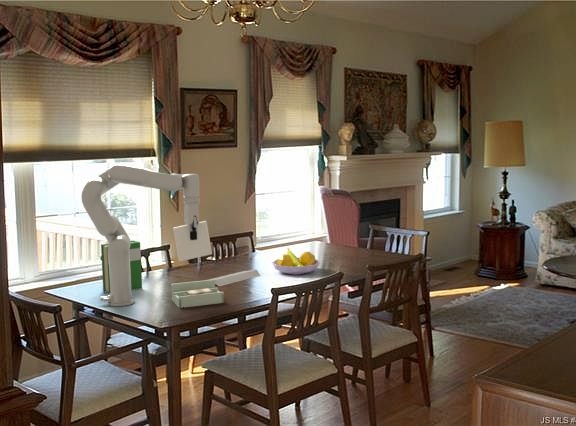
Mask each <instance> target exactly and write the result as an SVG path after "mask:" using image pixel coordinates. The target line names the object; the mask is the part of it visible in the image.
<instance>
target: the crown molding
mask: <svg viewBox="0 0 576 426" xmlns="http://www.w3.org/2000/svg"><path fill="white" fill-rule="evenodd" d="M259 272H260V271H258V269H251V270H242V271H237V272H233V273H230V274H226V275H220V276H217V277H213V278H209V279H207V280H213V279H214V280H215V286H218V287H222V286H226V285H230V284H233V283H239V282H242V281H245V280H250V279H253V278H257V277H261V274H260V273H259Z"/></svg>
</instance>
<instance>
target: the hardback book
mask: <svg viewBox="0 0 576 426" xmlns="http://www.w3.org/2000/svg"><path fill="white" fill-rule="evenodd" d="M130 241H131V246H130V249H129V256H130V271H131V291H136V290H140V289H141V290H142V289H143V281H142V279H143V277H142V256H141V254H142V253H141V242H140V241H138V240H130ZM108 244H109V243H103V244H100V252H101V270H102V271H101V272H102V290H103V291H106V292H108V294H109V293H110V273H109V259H108Z"/></svg>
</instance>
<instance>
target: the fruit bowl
mask: <svg viewBox="0 0 576 426" xmlns="http://www.w3.org/2000/svg"><path fill="white" fill-rule="evenodd" d="M286 249H287V253H286V254H284V253H283V254H282V255H281V256H279V257H278V258H277V259H275V260H274V261H271V264H272V265H273V268H274V269H275V270H277V271H278V272H281V273H283V274H287V275H295V276H298V274H299V275H305V274H309V273H311V272H313V271H315V270H317V269H318V267H319V266H320V263H321V261H320V260H318V259H316V256H315V255H314V254H313V253H312V252H310V251H304V252H303V253H301V255H300V256H299V257H297V256H296V255H295V254H294V253H293V252H292V251H291V250H290V248H289V247H288V248H286ZM304 273H305V274H304Z"/></svg>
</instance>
